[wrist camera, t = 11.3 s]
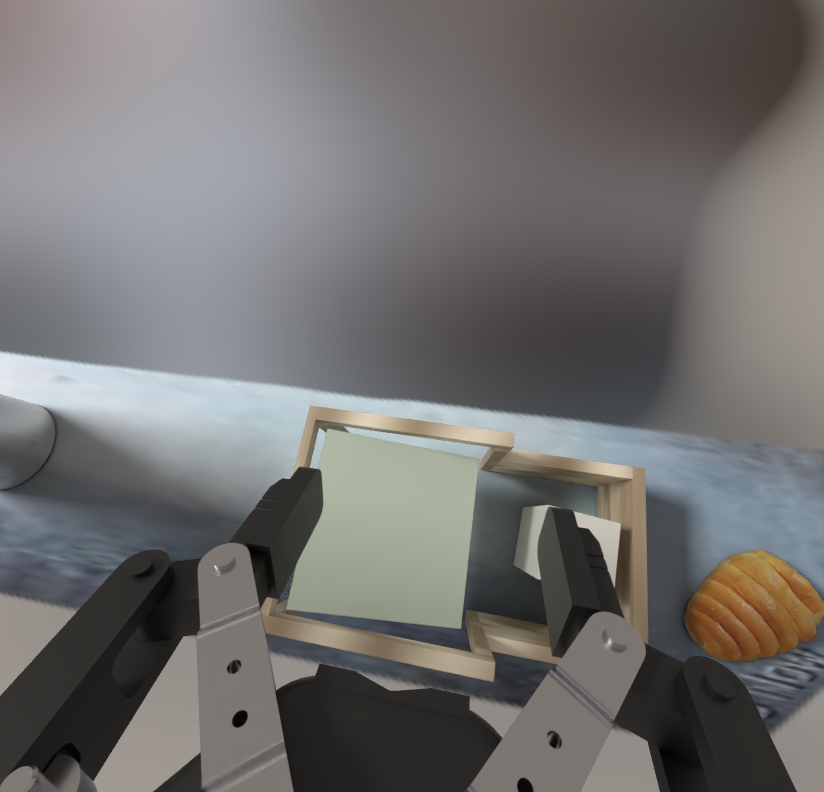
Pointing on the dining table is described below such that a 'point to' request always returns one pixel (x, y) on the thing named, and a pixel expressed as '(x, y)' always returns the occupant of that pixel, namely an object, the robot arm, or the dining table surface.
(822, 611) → the pastry
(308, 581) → the trapdoor
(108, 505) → the dining table surface
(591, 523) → the white rectangular block
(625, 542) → the trapdoor frame
